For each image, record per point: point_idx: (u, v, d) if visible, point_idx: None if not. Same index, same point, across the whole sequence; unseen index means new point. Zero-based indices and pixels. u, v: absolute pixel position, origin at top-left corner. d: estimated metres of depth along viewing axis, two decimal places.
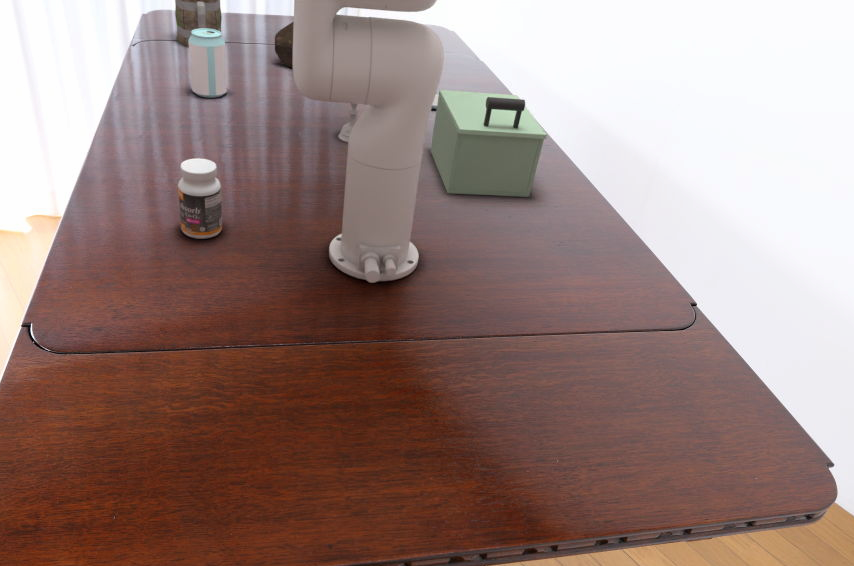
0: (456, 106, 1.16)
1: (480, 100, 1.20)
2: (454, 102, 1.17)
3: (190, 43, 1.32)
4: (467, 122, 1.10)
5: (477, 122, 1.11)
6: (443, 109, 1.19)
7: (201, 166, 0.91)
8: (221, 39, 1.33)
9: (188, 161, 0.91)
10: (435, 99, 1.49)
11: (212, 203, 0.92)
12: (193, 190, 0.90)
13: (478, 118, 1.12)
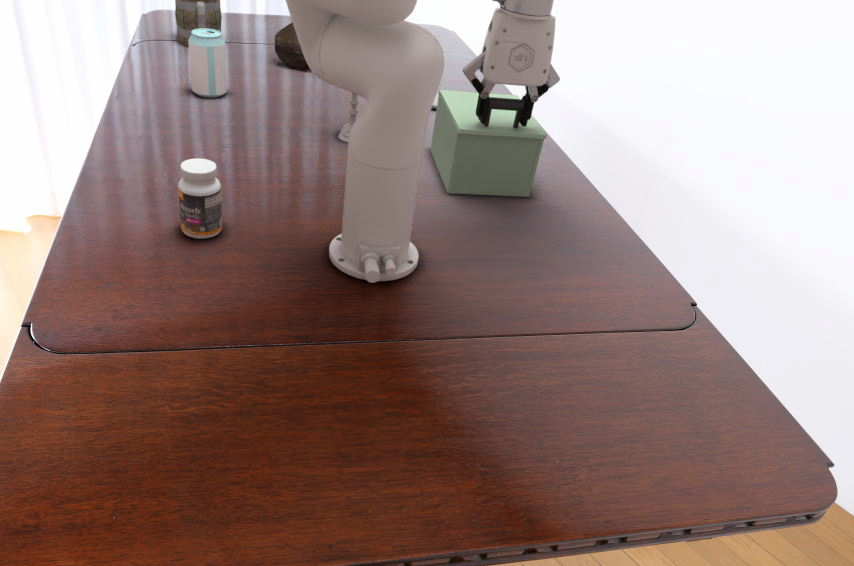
0: (456, 106, 1.16)
1: None
2: (454, 102, 1.17)
3: (190, 43, 1.32)
4: (467, 122, 1.10)
5: (477, 122, 1.11)
6: (443, 109, 1.19)
7: (201, 166, 0.91)
8: (221, 39, 1.33)
9: (188, 161, 0.91)
10: (435, 99, 1.49)
11: (212, 203, 0.92)
12: (193, 190, 0.90)
13: None
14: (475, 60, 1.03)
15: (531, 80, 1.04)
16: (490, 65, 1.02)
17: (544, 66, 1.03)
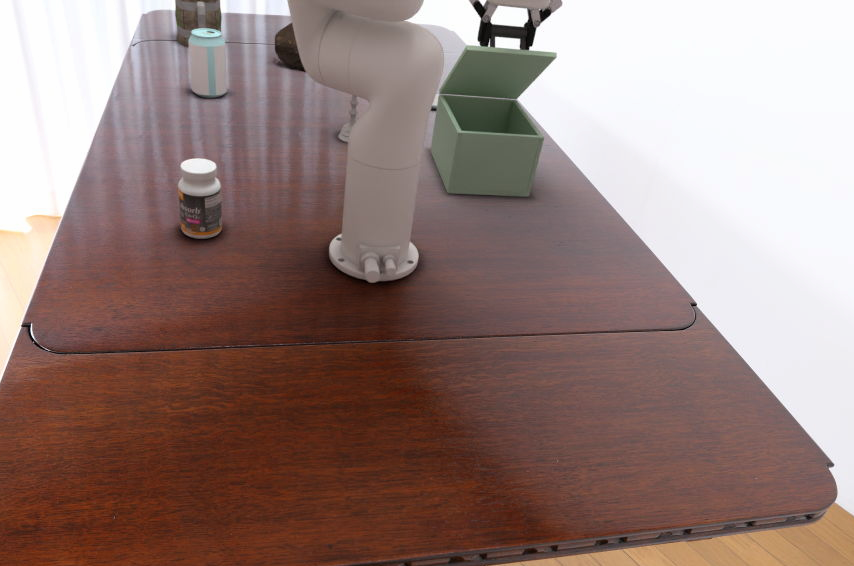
0: None
1: None
2: None
3: (190, 43, 1.32)
4: None
5: None
6: (443, 109, 1.19)
7: (201, 166, 0.91)
8: (221, 39, 1.33)
9: (188, 161, 0.91)
10: (435, 99, 1.49)
11: (212, 203, 0.92)
12: (193, 190, 0.90)
13: None
14: None
15: (533, 2, 1.03)
16: None
17: None
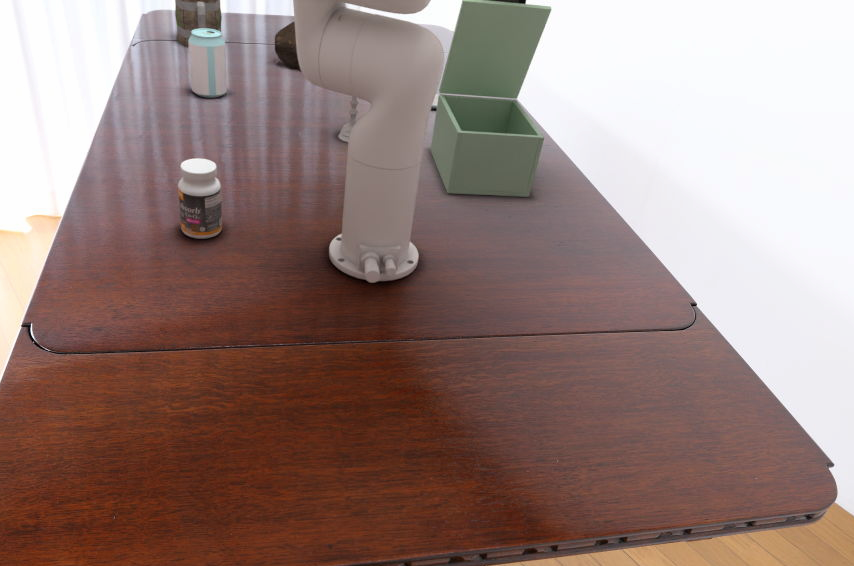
0: None
1: None
2: None
3: (190, 43, 1.32)
4: None
5: None
6: (443, 109, 1.19)
7: (201, 166, 0.91)
8: (221, 39, 1.33)
9: (188, 161, 0.91)
10: (435, 99, 1.49)
11: (212, 203, 0.92)
12: (193, 190, 0.90)
13: None
14: None
15: None
16: None
17: None
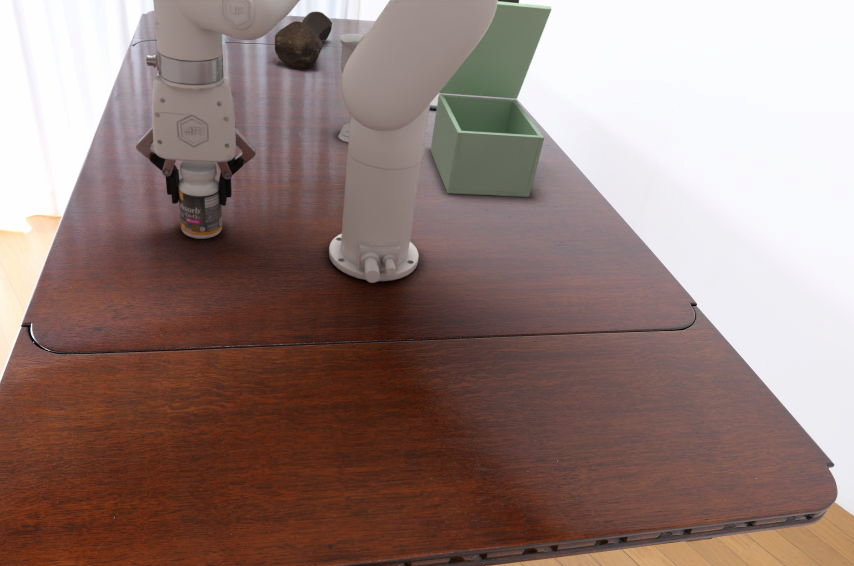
0: None
1: None
2: None
3: None
4: None
5: None
6: (443, 109, 1.19)
7: (200, 166, 0.91)
8: None
9: (188, 161, 0.91)
10: (435, 99, 1.49)
11: (212, 203, 0.92)
12: (193, 190, 0.90)
13: None
14: (146, 133, 0.87)
15: (213, 156, 0.87)
16: (157, 140, 0.85)
17: (225, 140, 0.86)
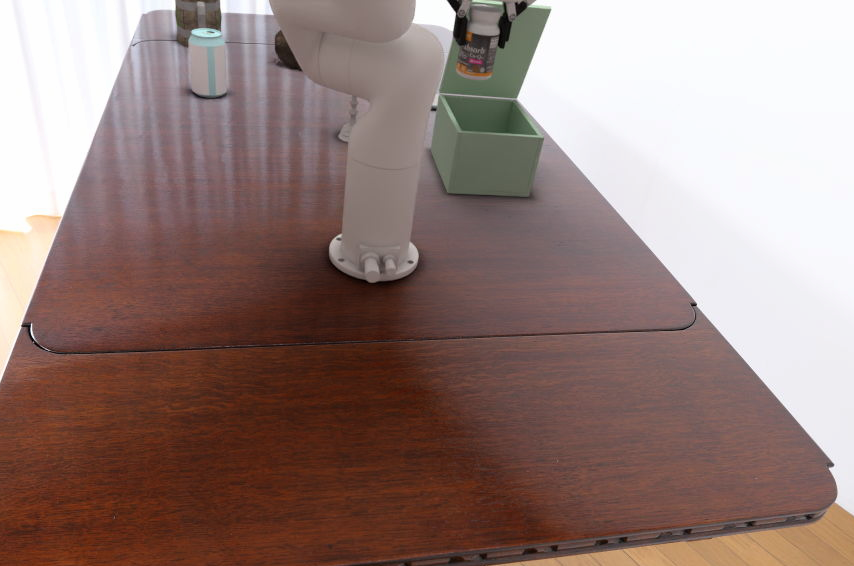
0: None
1: None
2: None
3: (190, 43, 1.32)
4: None
5: None
6: (443, 109, 1.19)
7: (487, 8, 1.01)
8: (221, 39, 1.33)
9: (474, 5, 1.01)
10: (435, 99, 1.49)
11: (495, 44, 1.02)
12: (483, 30, 1.00)
13: None
14: None
15: None
16: None
17: None
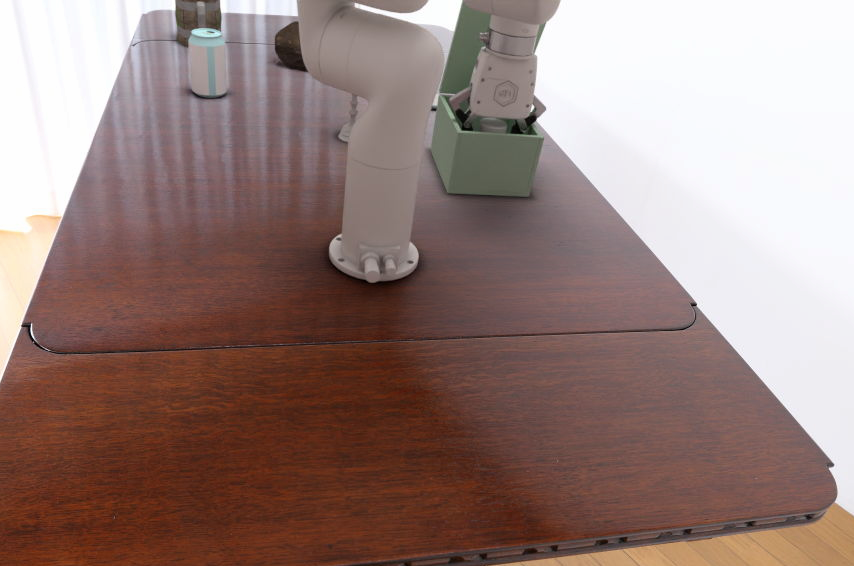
0: None
1: None
2: None
3: (190, 43, 1.32)
4: None
5: None
6: (443, 109, 1.19)
7: (496, 123, 1.14)
8: (221, 39, 1.33)
9: (484, 119, 1.15)
10: (435, 99, 1.49)
11: None
12: None
13: None
14: (461, 92, 1.10)
15: (515, 114, 1.11)
16: (476, 100, 1.09)
17: (527, 101, 1.10)
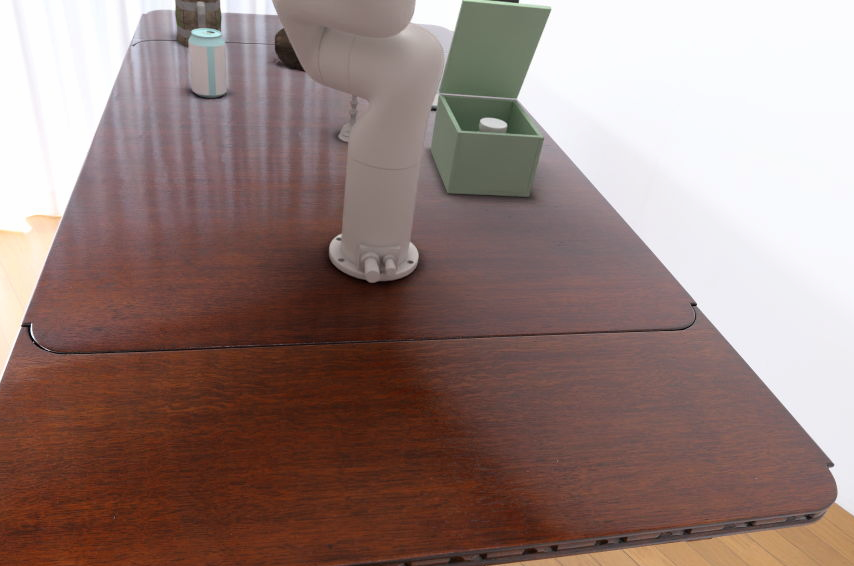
0: None
1: None
2: None
3: (190, 43, 1.32)
4: None
5: None
6: (443, 109, 1.19)
7: (495, 123, 1.14)
8: (221, 39, 1.33)
9: (484, 119, 1.15)
10: (435, 99, 1.49)
11: None
12: None
13: None
14: None
15: None
16: None
17: None
